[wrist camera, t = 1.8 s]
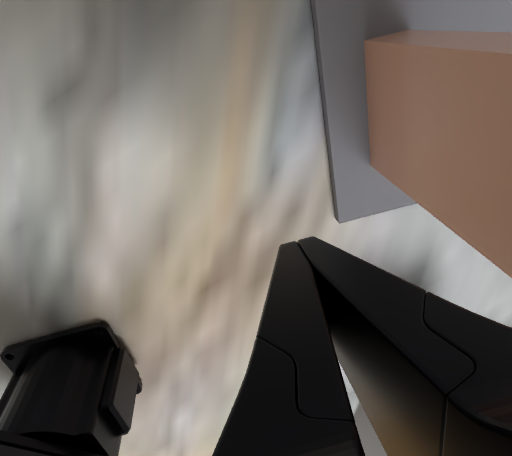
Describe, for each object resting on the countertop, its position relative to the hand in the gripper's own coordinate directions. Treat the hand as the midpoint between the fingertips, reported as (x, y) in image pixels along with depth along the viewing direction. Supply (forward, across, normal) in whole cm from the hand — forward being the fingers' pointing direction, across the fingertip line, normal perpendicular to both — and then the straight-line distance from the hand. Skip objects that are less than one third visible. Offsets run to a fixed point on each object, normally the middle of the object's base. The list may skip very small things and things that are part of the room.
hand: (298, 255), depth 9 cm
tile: (+10, -7, 0) cm, 12 cm away
